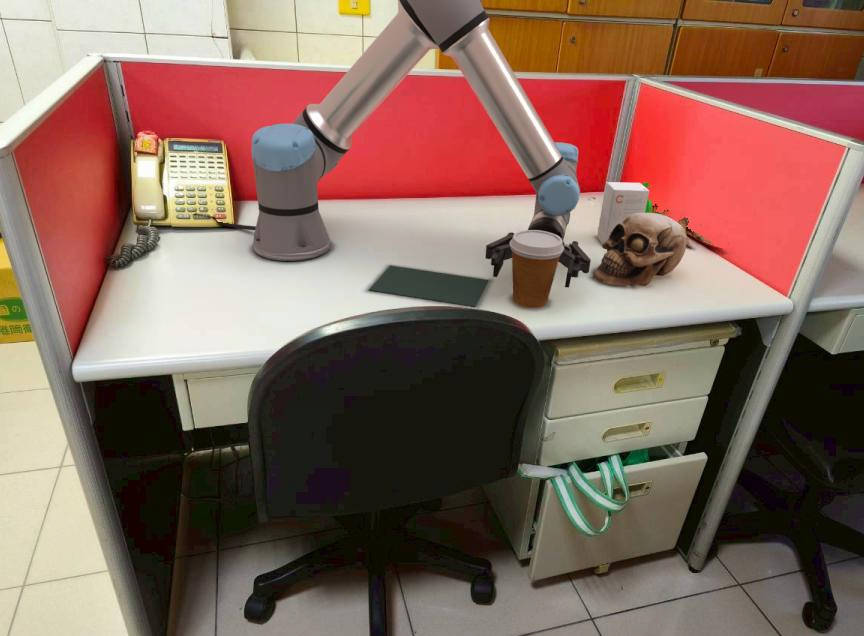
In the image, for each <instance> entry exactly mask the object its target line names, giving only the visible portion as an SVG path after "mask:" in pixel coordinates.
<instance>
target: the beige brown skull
mask: <svg viewBox="0 0 864 636" xmlns="http://www.w3.org/2000/svg"><path fill="white" fill-rule="evenodd" d="M678 222H679V221H678ZM678 222H677V221H676V220H675V219H673V218H671V217H669V216H667V215H663V214H659V213H658V214H657V213H655V212H651V213H634V214H631V215H630V216H628V217H627V218H626V219H625V220H624V221H623V222H622V223H619V224H617V225H616V226H615V227H614V229H613V230H612V232H611V234H610V236H609V239H608V240H607V241H606V242H605V243H604V244H602V249H604V250H606V252H604V254H603V256H602V259H601V261H600V262H601V263H600V264H599V265H598V266H597V267H596V269H595V270H594V271H593V273H592V278H593V279H594V280H596V281H597V282H600V283H602V284H606V285H610V286H617V287H618V286H620V287H624V286H630V287H633V286H641V287H646V286H647V285H649V284H650V283H651V282H652V280H653V279H654V278H655V277H664V276H666V275H668V274H669V273H671V272H672V271H674V269H676V267H678V265H679V264H680V263H681V261H682V259H683V257H684V256H685V253H686V249H687V246H686V235H687V234H686V235H685V231H684V229H683V227H682V226H681V225H680V224H679V223H678Z"/></svg>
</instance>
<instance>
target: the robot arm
mask: <svg viewBox="0 0 864 636" xmlns="http://www.w3.org/2000/svg"><path fill="white" fill-rule="evenodd" d="M482 1H483V0H397V14H396V15H395V16H394V17H393V18H392V19H391V20H390V22H388V24H387V25H386V27H385V28H383V30H382V31H381V32H380V33H379V34H378V35H377V37H376V38H375V39H374V40H373V41H372V43H371V44H370V45H369V46H368V47H367V48H366V49H365V50H364V52H363V53H362V54H361V55H360V56H359V58H357V60H356V61H355V63H354V64H353V65H351V67H350V68H349V70H347V72H346V73H345V74H344V75H343V76H342V77H341V79H340V80H339V81H338V82H337V83H336V84H335V86H334V87H333V88H332V89H331V90H330V92H329V93H328V94H327V95H326V96H325V97H324V99H322V101H321V102H320V103H309V104H308V105H307V106H306V107H304V109H303V111H301V112H300V114H299V115H298V116H297V117H296V119H294V121H293V122H292V123H276V124H272V125H266V126H263V127H260V128H259V129H257V130H256V131H255V132H254V133H253V135H252V138H251V150H250V151H251V152H250V153H251V159H252V164H253V172H254V180H255V189H256V196H257V197H256V198H257V204H258V215H257V219H256V224H255V225H246V224H245V225H244V224H240V223H239V224H238V223H232V224H229V223H230V222H227V223H223V222H216V223H217V224H219V225H220V226H223V227H227V228H231V229H238V230H239V229H240V230H247V231H254V234H253V240H252V244H253V250H254V253H256V254H257V255H258V256H260V257H262V258H265V259H269V260H271V261H272V260H273V261H282V262H297V261H306V260H312V259H314V258H317V257H321V256H322V255H325V254H326V253H327V252H328V251H329V250H330V248H331V241H330V235H329V232H328V230H327V228H326V225H325V223H324V220H323V218H322V215H321V213H320V210H319V193H318V182H319V181H321V180H322V179H323V178H324V177H325V176H327V174H329V173H330V172H332V171H333V170H334V169H335V168H336V167H337V165H338V164H339V161H340V160H341V159H342V158H343V157H344V156H345V155H346V153H347V152H348V151H350V149H351V148H352V146H353V138H352V136H353V135H354V134H355V133H356V132H357V131H358V129H359V128H360V127H362V125H363V124H364V123H365V122H366V120H368V118H369V117H370V116H371V115H372V114H373V113H374V112H375V111H376V110H377V109H378V108H379V107H380V105H381V104H382V103H383V102H384V101H386V100H385V99H387V98H388V97H389V95H390V94H391V93H392V92H393V91H395V89H396V88H397V87H398V86H399V85H400V83H402V82H403V80H404V79H405V78H406V77H407V76H408V74H410V73H411V71H412V70H413V69H414V68H415V67H416V66H417V65H418V64H419V63H420V61H421V60H423V58H424V57H425V56H426V55H427V54H428V53H429V52H430V51H431V50H440V51H441V53H442V54H443V55H444V56H448V57H450V58H452V59H453V61H454V63H455V65H456V66H457V68H458V70H459V71H460V72H461V74H462V75H463V77H464V79H465V80H466V82H467V83H468V85H469V86H470V88H471V90H472V91H473V93H474V94H475V96H476V98H477V99H478V101H479V103H480V104H481V106H482V107H483V109H484V111H485V113H486V114H487V115H488V117H489V118H490V120H491V122H492V123H493V125H494V127H495V128H496V130H497V131H498V133H499V134H500V136H501V138H502V140H503V141H504V143H505V144H506V146H507V147H508V149H509V150H510V153H511V154H512V155H513V157H514V158H515V160H516V162H517V163H518V165H519V166H520V168H521V170H522V171H523V173H524V174H525V176H526V178H527V179H528V181H529V184H530V185H531V187H532V189H533V190H534V191H535V194H536V195H535V203H534V211H533V216H532V219H531V220H530V223H529V225H528V228H527V230H539V231H546V232H550V233H553V234H555V235H557V236H559V237H560V238H561V239H562V244H563V246H564V250H563V252H562V254H561V255H560V258H559V261H558V264H561V265H562V266H563V267H565V268H566V269H567V270H566V277H565V283H564V288H568V289H569V288H570V285H571V280H572V278H579V273H580V272H582V273H583V274H589V273H590V268H591V263H592V259H591V258H590V257H589V256H588V254H586V252H584V250H583V249H582V248H581V247H580V245H579V241H577V240H573V241H572V242H570V243H569V244H567V243H565V242H564V239H565V236H566V232H567V227H568V225H569V224H570V218H571V212H572V211H573V210H574V209H575V208H576V206H577V205H578V203H579V199H580V194H581V189H580V185H579V182H578V176H577V168H578V163H579V159H578V158H579V149H578V147H577V146H576V145H574V144H571V143H566V142H555V141H554V139H553V137H552V136H551V134H550V133H549V131H548V129H547V127H546V126H545V124H544V122H543V120H542V118H541V117H540V115H539V114H538V112H537V110H536V108H535V107H534V105H533V103H532V101H531V100H530V98H529V97H528V95H527V93H526V91H525V89H523V86H522V84H521V83H520V81H519V79H518V78H517V76H516V74H515V73H514V71H513V69H512V67H511V66H510V64H509V63H508V60H507V59H506V57H505V55H504V54H503V52H502V50H501V49H500V47H499V45H498V43H497V42H496V40H495V38H494V37H493V35H492V33H491V31H490V30H489V27H490V21H491V20H490V17H489V16H488V14H487V12H486V11H485V9H484V7H483V4H482ZM515 233H516V232H513V231H512V232H511V231H510V232H508V233H507V235H506V236H503V237H500V238H499V239H497V240H494V241H492V242H490V243H488V244H486V246H485V254H484V255H485V257H484V258H485V259H486V260H490V265H491V266H493V271H492V277H493V278H498V276H499V274H500V272H501V270H502V268H503V266H504V261H506V260H510V259H511V260H512V250H511V247H510V241H511V240H512V238H513V235H514V234H515Z"/></svg>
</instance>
